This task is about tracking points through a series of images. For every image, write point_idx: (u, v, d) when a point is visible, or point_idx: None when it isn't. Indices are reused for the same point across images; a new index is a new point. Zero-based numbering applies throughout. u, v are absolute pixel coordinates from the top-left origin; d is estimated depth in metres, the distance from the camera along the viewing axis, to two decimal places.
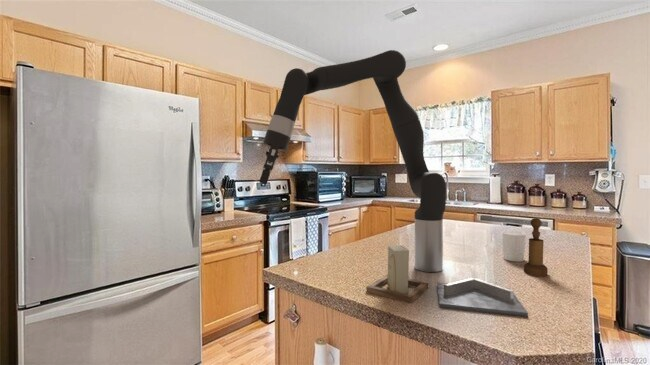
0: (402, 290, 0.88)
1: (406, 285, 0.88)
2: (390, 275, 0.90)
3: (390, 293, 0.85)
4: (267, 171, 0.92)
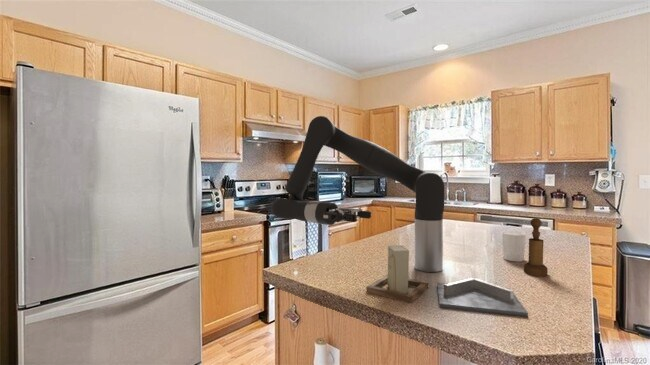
0: (402, 290, 0.88)
1: (406, 285, 0.88)
2: (390, 275, 0.90)
3: (390, 293, 0.85)
4: (343, 217, 0.94)
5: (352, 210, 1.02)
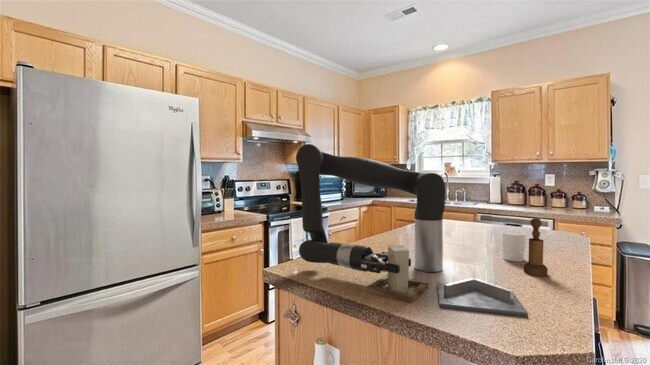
0: (402, 290, 0.88)
1: (406, 285, 0.88)
2: (390, 275, 0.90)
3: (390, 293, 0.85)
4: (384, 267, 0.87)
5: None
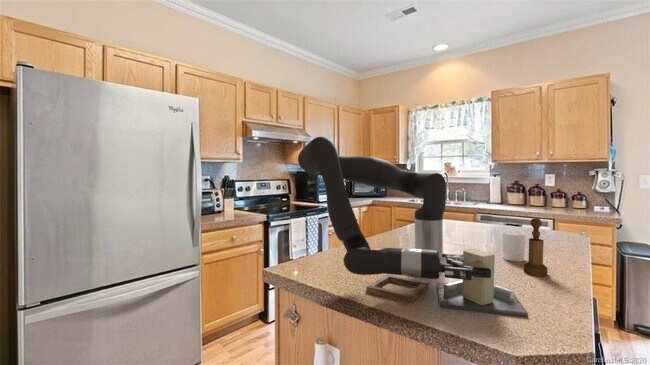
0: (489, 299, 0.78)
1: (492, 293, 0.78)
2: (471, 284, 0.80)
3: (390, 293, 0.85)
4: (474, 272, 0.76)
5: (461, 258, 0.84)
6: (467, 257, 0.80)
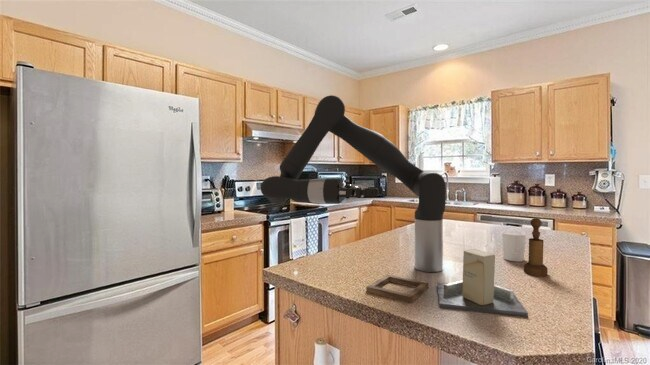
0: (489, 300, 0.78)
1: (492, 293, 0.78)
2: (471, 284, 0.80)
3: (390, 293, 0.85)
4: (363, 191, 0.86)
5: (362, 186, 0.95)
6: (467, 257, 0.80)
